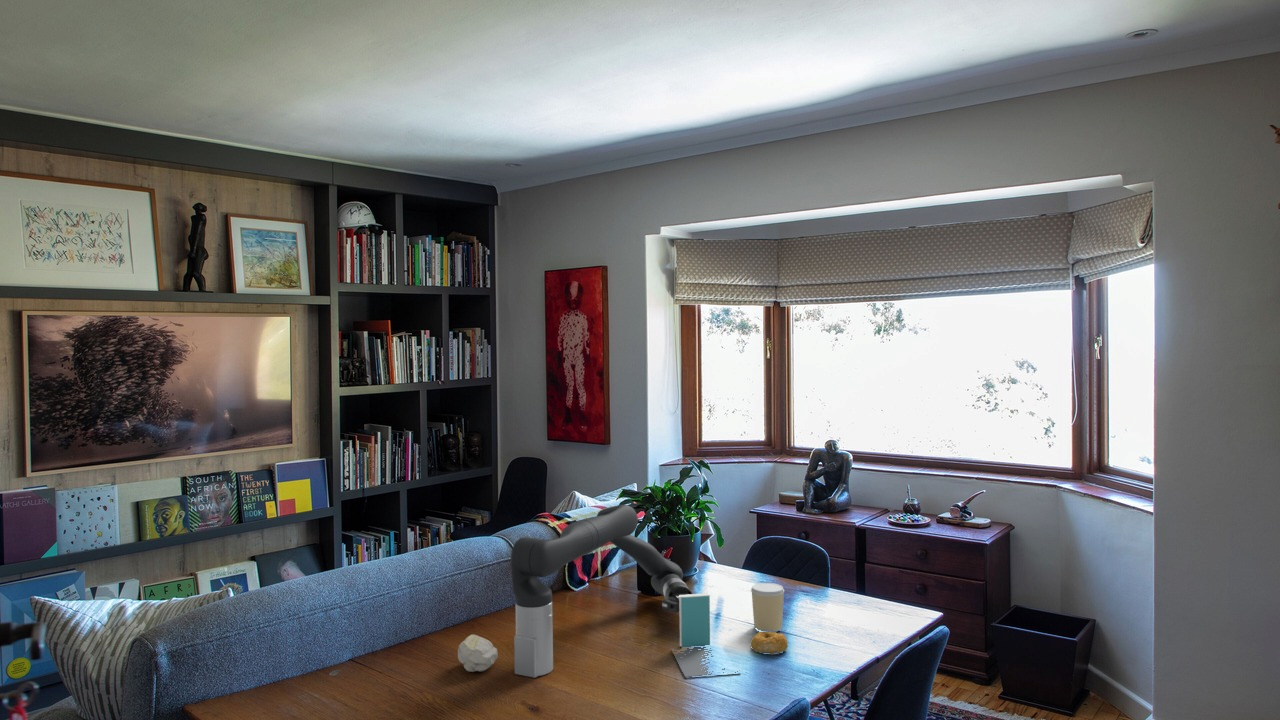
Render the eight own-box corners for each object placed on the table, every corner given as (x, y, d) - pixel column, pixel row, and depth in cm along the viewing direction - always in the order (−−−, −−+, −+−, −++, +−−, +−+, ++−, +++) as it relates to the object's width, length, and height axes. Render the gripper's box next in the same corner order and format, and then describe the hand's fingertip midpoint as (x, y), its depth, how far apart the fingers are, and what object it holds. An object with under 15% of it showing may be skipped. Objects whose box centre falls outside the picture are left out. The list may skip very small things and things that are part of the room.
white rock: (494, 657, 213) (456, 666, 209) (491, 626, 213) (452, 634, 209) (503, 671, 201) (462, 680, 198) (499, 637, 202) (459, 646, 198)
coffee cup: (783, 623, 235) (782, 582, 235) (785, 635, 226) (785, 592, 225) (750, 622, 236) (750, 582, 236) (752, 634, 227) (751, 591, 226)
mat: (671, 651, 215) (670, 649, 215) (721, 647, 217) (721, 645, 217) (685, 678, 197) (685, 676, 197) (740, 674, 199) (740, 672, 199)
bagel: (789, 643, 220) (789, 625, 220) (786, 659, 209) (786, 640, 209) (753, 640, 223) (752, 623, 222) (748, 656, 212) (747, 638, 212)
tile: (679, 646, 218) (679, 595, 218) (708, 644, 220) (708, 593, 219) (681, 649, 216) (680, 597, 216) (710, 647, 218) (709, 595, 217)
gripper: (655, 582, 240) (666, 601, 223) (698, 580, 242) (712, 598, 225) (655, 607, 240) (666, 628, 223) (698, 604, 242) (713, 624, 225)
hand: (689, 613), depth 224 cm, fingers closed
